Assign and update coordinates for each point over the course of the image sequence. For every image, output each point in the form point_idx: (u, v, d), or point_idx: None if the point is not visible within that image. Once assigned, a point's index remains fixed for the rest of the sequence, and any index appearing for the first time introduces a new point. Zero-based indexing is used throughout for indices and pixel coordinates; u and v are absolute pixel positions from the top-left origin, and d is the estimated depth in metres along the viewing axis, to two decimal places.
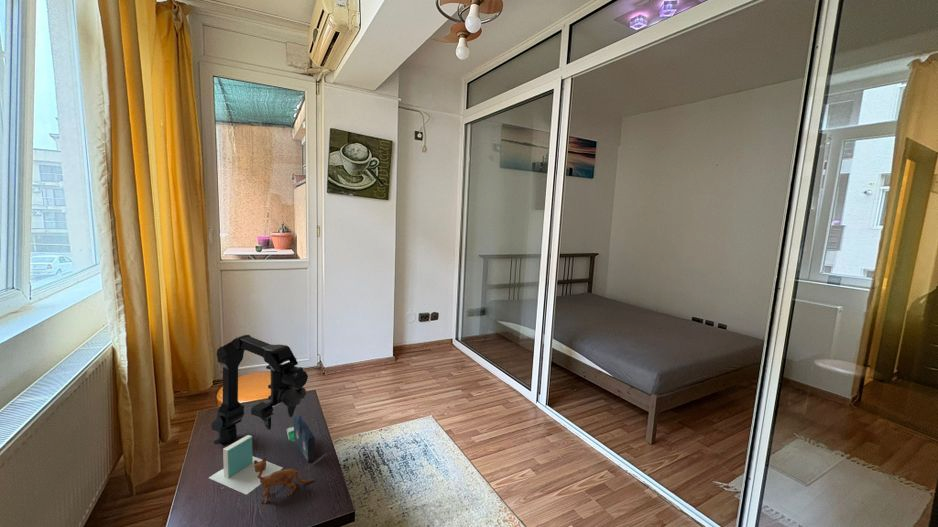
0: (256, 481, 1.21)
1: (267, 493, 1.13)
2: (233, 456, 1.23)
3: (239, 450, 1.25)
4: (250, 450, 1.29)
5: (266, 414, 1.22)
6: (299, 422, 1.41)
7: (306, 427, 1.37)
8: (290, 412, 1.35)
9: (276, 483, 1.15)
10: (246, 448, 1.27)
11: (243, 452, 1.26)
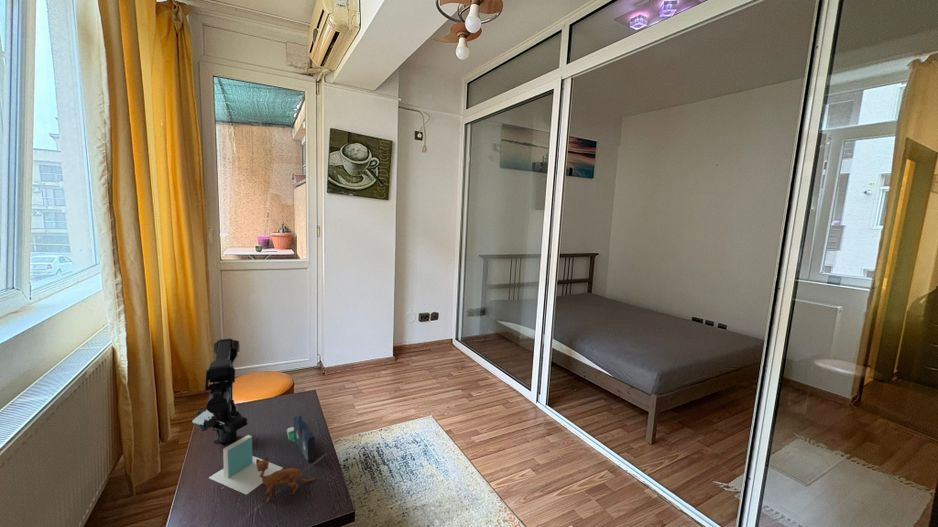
0: (256, 481, 1.21)
1: (269, 492, 1.13)
2: (233, 456, 1.23)
3: (239, 450, 1.25)
4: (250, 450, 1.29)
5: None
6: (299, 422, 1.41)
7: (306, 427, 1.37)
8: None
9: (278, 482, 1.16)
10: (246, 448, 1.27)
11: (243, 452, 1.26)
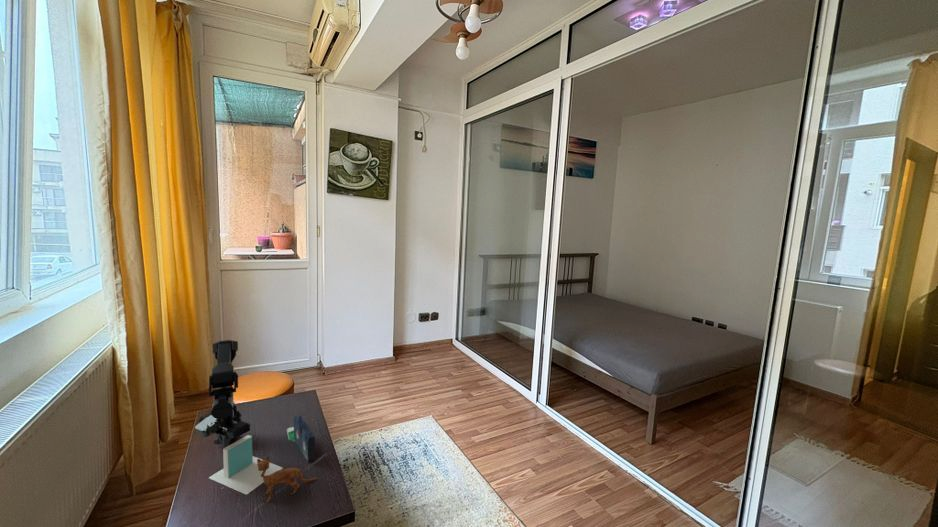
0: (256, 481, 1.21)
1: (270, 492, 1.14)
2: (233, 456, 1.23)
3: (239, 450, 1.25)
4: (250, 450, 1.29)
5: None
6: (299, 422, 1.41)
7: (306, 427, 1.37)
8: None
9: (279, 482, 1.16)
10: (246, 448, 1.27)
11: (243, 452, 1.26)
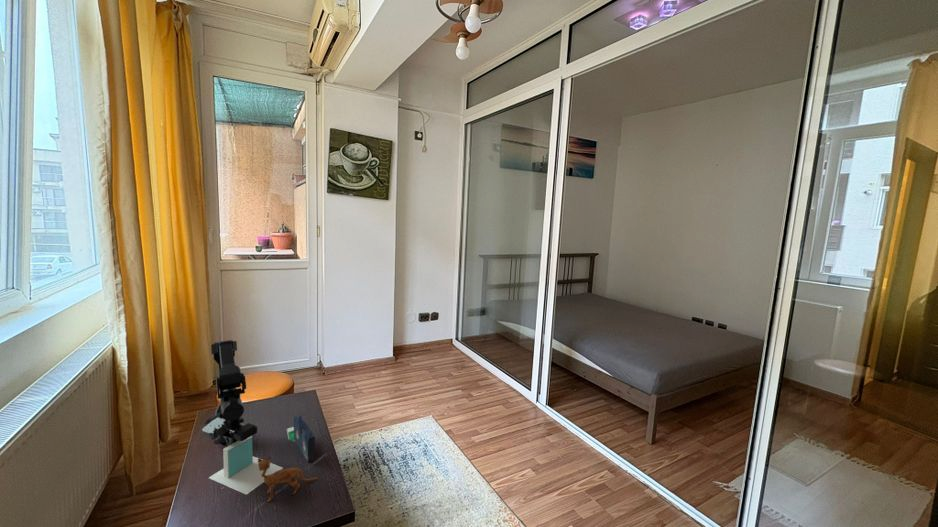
0: (256, 481, 1.21)
1: (271, 491, 1.14)
2: (233, 456, 1.23)
3: (239, 450, 1.25)
4: (250, 450, 1.29)
5: None
6: (299, 422, 1.41)
7: (306, 427, 1.37)
8: None
9: (280, 481, 1.16)
10: (246, 448, 1.27)
11: (243, 452, 1.26)
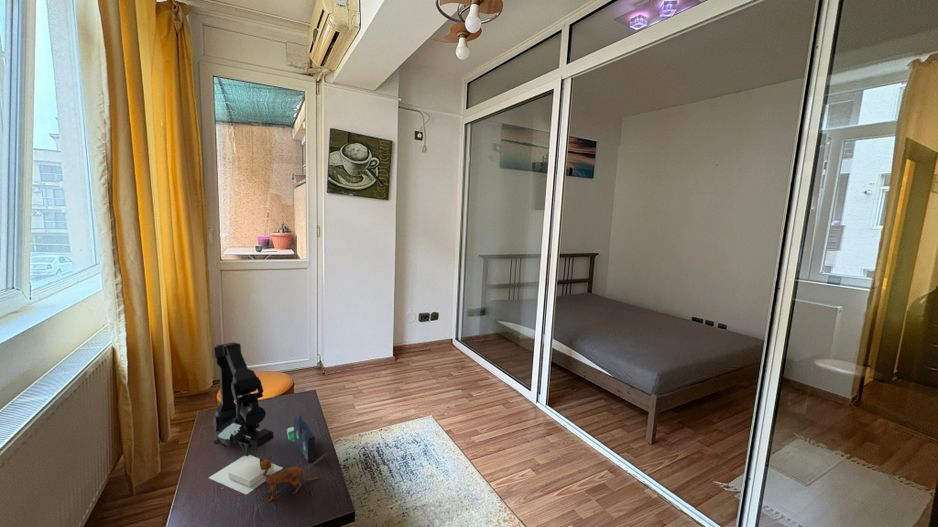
0: None
1: (272, 491, 1.14)
2: None
3: None
4: None
5: (221, 432, 1.23)
6: (299, 422, 1.41)
7: (306, 427, 1.37)
8: None
9: (281, 481, 1.16)
10: None
11: None
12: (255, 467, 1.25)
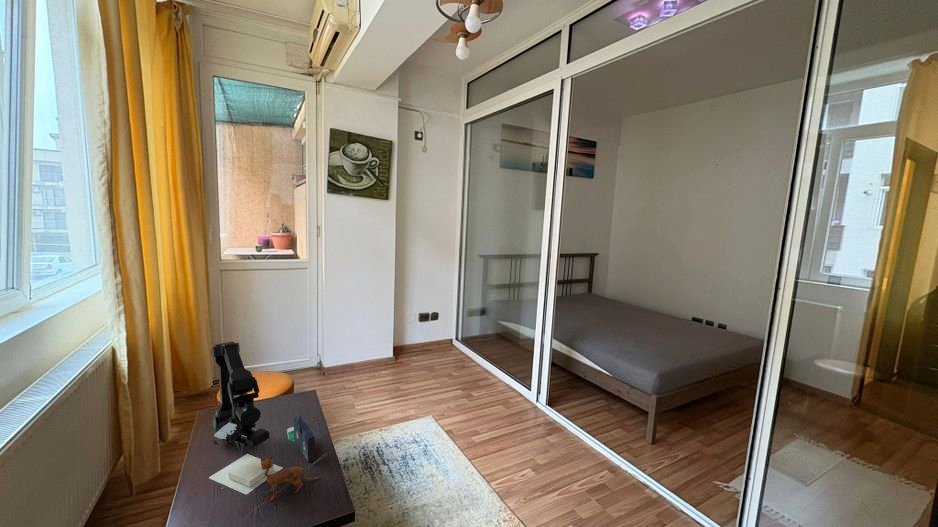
0: None
1: (274, 490, 1.14)
2: None
3: None
4: None
5: (217, 431, 1.24)
6: (299, 422, 1.41)
7: (306, 427, 1.37)
8: None
9: (282, 480, 1.17)
10: None
11: None
12: (255, 467, 1.25)
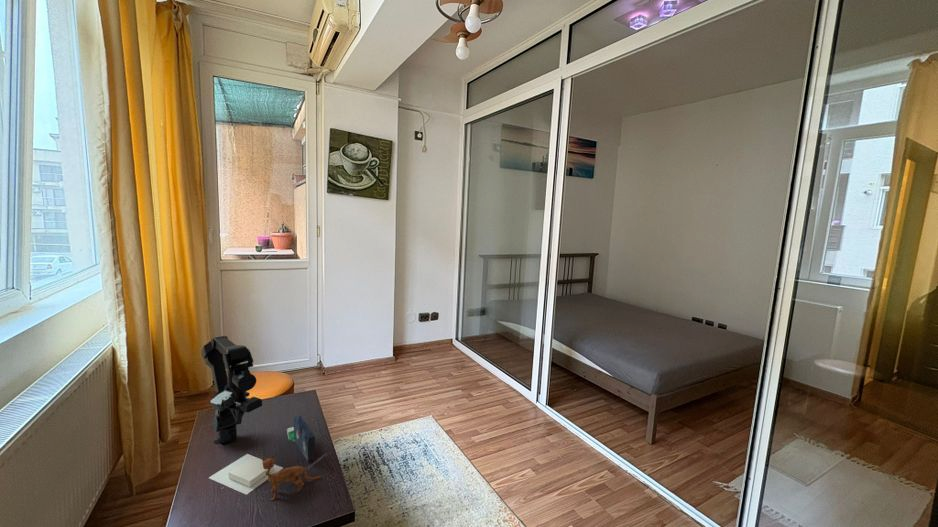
0: None
1: (275, 490, 1.14)
2: None
3: None
4: None
5: None
6: (299, 422, 1.41)
7: (306, 427, 1.37)
8: None
9: (284, 480, 1.17)
10: None
11: None
12: (255, 467, 1.25)
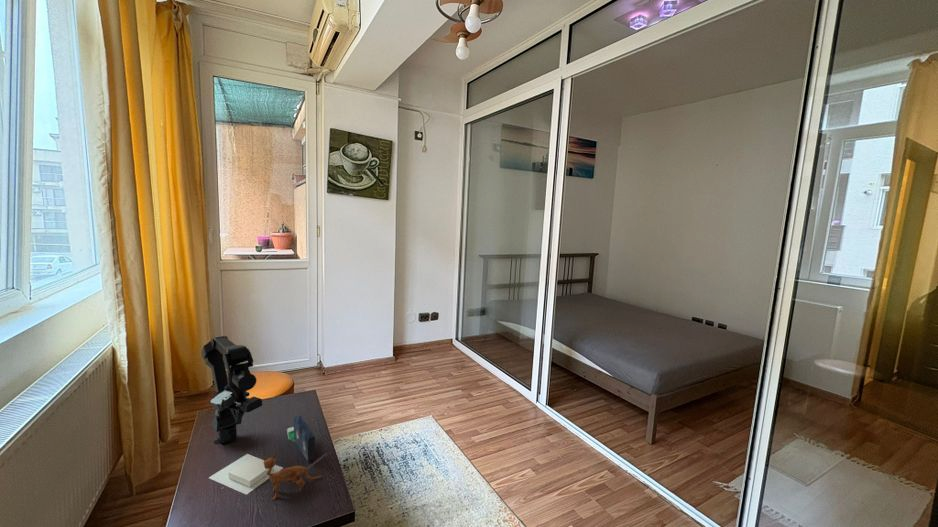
0: None
1: (276, 489, 1.15)
2: None
3: None
4: None
5: None
6: (299, 422, 1.41)
7: (306, 427, 1.37)
8: None
9: (285, 480, 1.17)
10: None
11: None
12: (255, 467, 1.25)
